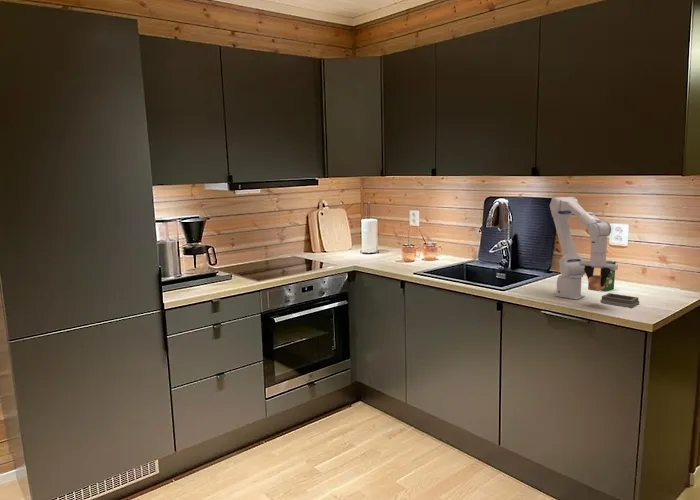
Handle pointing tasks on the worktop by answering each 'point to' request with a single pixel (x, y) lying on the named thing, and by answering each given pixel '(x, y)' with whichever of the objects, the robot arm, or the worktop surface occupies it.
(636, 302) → the nest plate
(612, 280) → the coffee box
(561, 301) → the worktop surface
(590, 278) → the terracotta bar
